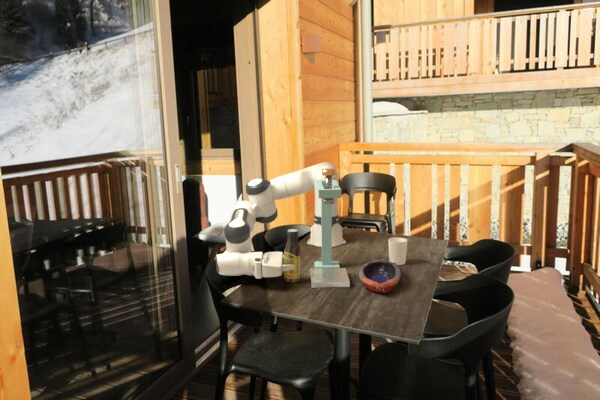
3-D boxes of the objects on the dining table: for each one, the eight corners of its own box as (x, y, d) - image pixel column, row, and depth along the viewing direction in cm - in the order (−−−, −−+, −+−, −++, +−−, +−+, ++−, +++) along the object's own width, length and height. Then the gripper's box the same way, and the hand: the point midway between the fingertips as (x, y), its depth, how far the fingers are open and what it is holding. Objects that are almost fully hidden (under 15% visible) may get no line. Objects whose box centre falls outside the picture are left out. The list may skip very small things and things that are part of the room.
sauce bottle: (280, 280, 191) (279, 229, 188) (293, 276, 195) (292, 227, 192) (291, 284, 186) (290, 233, 183) (304, 280, 190) (303, 230, 187)
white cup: (386, 264, 208) (387, 241, 206) (389, 259, 215) (389, 236, 214) (406, 266, 206) (406, 242, 204) (407, 260, 213) (408, 238, 211)
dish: (401, 270, 201) (401, 258, 200) (399, 299, 172) (399, 285, 171) (362, 268, 204) (362, 256, 203) (354, 296, 175) (354, 282, 174)
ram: (321, 201, 188) (321, 168, 186) (335, 201, 188) (334, 168, 186) (322, 204, 183) (322, 170, 181) (336, 203, 183) (336, 169, 181)
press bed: (310, 273, 199) (310, 268, 198) (345, 272, 199) (345, 268, 198) (311, 287, 183) (311, 282, 183) (349, 287, 183) (349, 281, 183)
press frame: (314, 264, 210) (313, 179, 204) (338, 263, 210) (337, 179, 204) (316, 286, 184) (315, 190, 177) (344, 286, 184) (344, 189, 177)
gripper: (260, 263, 200) (294, 262, 200) (256, 280, 180) (294, 279, 180) (259, 248, 199) (294, 247, 199) (255, 263, 179) (294, 262, 179)
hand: (294, 262), depth 189 cm, fingers open, 8 cm apart
